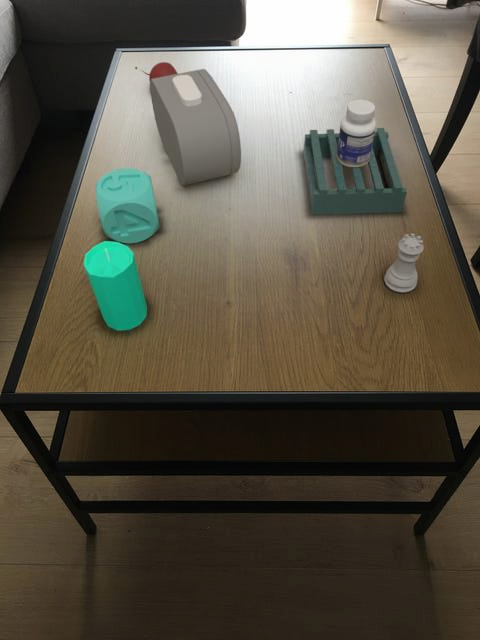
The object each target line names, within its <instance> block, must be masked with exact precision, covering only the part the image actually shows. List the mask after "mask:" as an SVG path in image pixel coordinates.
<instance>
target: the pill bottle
mask: <svg viewBox="0 0 480 640" xmlns="http://www.w3.org/2000/svg"><path fill="white" fill-rule="evenodd" d="M375 111H376V106H375V104H374V103H373V102H371V101H370V100H366V99H355V100H351V101H350V102H349V103H348V104H347V107H346V111H345V112H346V114H345V116H343V117H342V119H341V121H340V127H339V133H340V134H339V141H338V149H337V159H338V161H339V162H340V163H341V165H342V166H345V167H348V168H351V167H354V168H356V167H360V168H362V167H364V166H366V165H368V162H369V160H370V156H371V150H372V145H373V139H374V134H375V132H376V130H377V122H376V119H375V118H374V116H375Z"/></svg>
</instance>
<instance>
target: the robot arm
mask: <svg viewBox="0 0 480 640" xmlns="http://www.w3.org/2000/svg"><path fill="white" fill-rule="evenodd" d="M478 2H479V3H480V0H446V3H445V8H446V9H448V10H454V9H457V8H460V7H463V6H465V5H467V4H469V5H471V6H473V5H478Z"/></svg>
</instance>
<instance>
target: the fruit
mask: <svg viewBox="0 0 480 640" xmlns="http://www.w3.org/2000/svg"><path fill="white" fill-rule="evenodd" d="M134 69H135V70H137V69H138V66H135V67H134ZM140 71H141V72H142V73H144V74H145V75H147V76H148V81H149V82H150V80H151V79H154V78H159V77H164V76H169V75H174V74H179V73H178V71H177V70H176V68H175V67H174V66H173V65H172V64H171V62H167V61H163V62H158V63H156V64H155V65H153V67H152V68H151V70H150V72H149V73H148V72H145V71H144V70H142V69H140Z"/></svg>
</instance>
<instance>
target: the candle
mask: <svg viewBox="0 0 480 640" xmlns="http://www.w3.org/2000/svg"><path fill="white" fill-rule="evenodd" d="M83 266H84V269H85V273H86V275H87V278H88V281H89V284H90V286H91V289H92V291H93V294H94V297H95V299H96V302H97V305H98V308H99V311H100V313H101V316H102V318H103V320H104V323H105V324H106V326H107V327H108V328H110V329H113V330H115V331H119V332H120V331H130V330H132V329H135V328H136V327H138V326H141V324H142V323H143V322H144V321H145V319H146V318H147V315H148V306H147V301H146V298H145V294H144V290H143V286H142V282H141V278H140V273H139V270H138V265H137V262H136V257H135V254H134V252H133V251H132V249H131V248H130V247H129V246H128V245H125V244H124V243H122V242H118V241H111V240H104V241H102V242H100V243H98V244H96V245H94V246H92V247H91V248H90V250H89V251H88V252H86V253H85V255H84V260H83Z"/></svg>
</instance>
